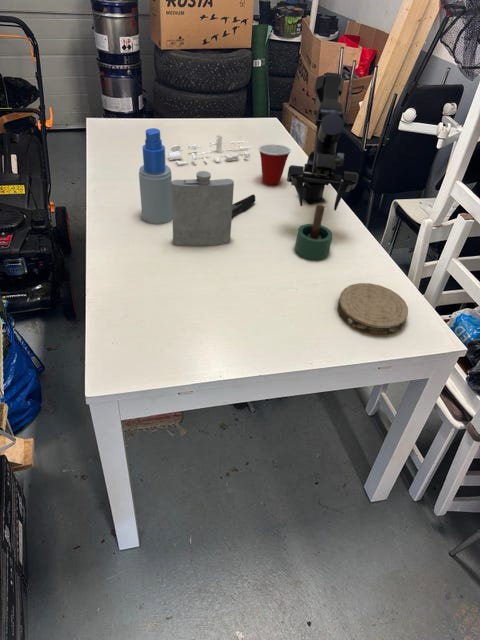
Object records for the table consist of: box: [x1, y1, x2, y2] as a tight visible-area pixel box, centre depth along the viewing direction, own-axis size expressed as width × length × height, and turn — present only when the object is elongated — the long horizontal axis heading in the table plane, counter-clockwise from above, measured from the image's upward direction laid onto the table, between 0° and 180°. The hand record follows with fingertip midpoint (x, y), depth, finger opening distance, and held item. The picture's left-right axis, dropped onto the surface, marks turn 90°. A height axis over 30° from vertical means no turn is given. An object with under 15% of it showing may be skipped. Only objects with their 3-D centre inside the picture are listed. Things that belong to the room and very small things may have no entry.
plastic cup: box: [258, 143, 292, 187], centre depth 156 cm, size 11×11×12 cm
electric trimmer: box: [232, 194, 256, 217], centre depth 142 cm, size 4×16×3 cm, turn 142°
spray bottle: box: [138, 127, 173, 225], centre depth 128 cm, size 9×9×25 cm
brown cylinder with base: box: [307, 204, 325, 239], centre depth 124 cm, size 4×4×13 cm
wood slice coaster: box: [336, 282, 409, 337], centre depth 108 cm, size 16×16×3 cm
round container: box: [294, 223, 334, 262], centre depth 126 cm, size 9×9×6 cm
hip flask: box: [171, 170, 235, 247], centre depth 121 cm, size 16×4×20 cm, turn 101°
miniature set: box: [168, 134, 252, 166], centre depth 171 cm, size 6×35×12 cm
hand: (318, 207), depth 125 cm, fingers open, 9 cm apart
